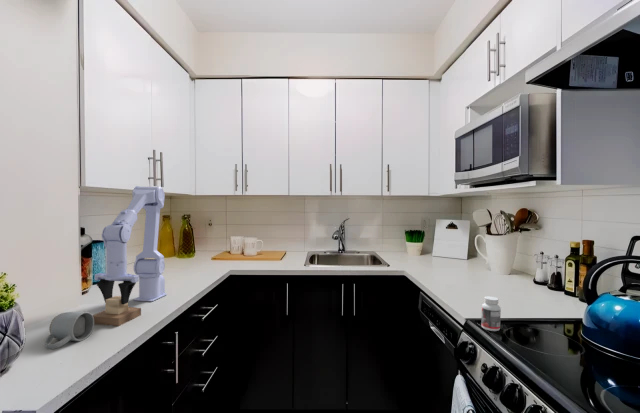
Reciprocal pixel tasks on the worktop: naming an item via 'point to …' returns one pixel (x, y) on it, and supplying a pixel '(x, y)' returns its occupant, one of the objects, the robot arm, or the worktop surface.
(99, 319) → the walnut block
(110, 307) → the oak cube
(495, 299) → the pill bottle
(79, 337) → the ceramic mug
